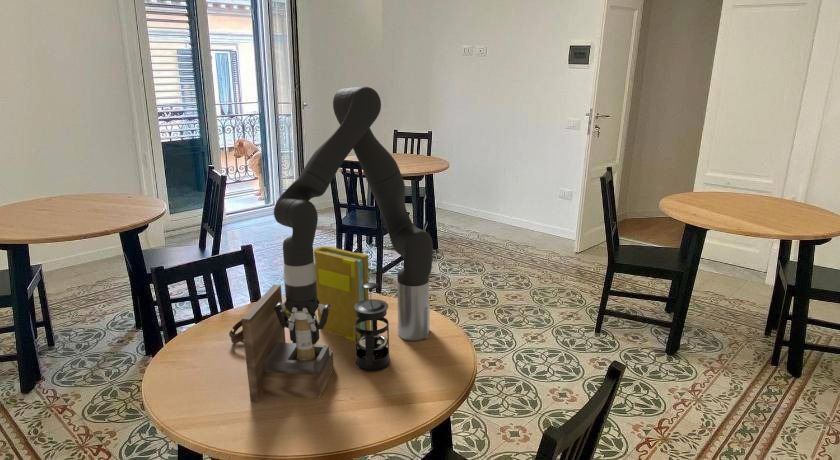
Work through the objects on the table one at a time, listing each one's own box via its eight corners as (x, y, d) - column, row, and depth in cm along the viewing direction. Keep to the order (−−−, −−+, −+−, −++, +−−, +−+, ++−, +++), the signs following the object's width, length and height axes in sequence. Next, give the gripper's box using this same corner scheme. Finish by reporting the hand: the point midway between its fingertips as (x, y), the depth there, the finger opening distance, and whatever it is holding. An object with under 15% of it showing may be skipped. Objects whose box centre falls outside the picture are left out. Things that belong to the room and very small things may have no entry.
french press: (358, 352, 152) (355, 276, 145) (391, 352, 151) (390, 276, 144) (352, 375, 140) (348, 294, 134) (387, 376, 140) (386, 294, 133)
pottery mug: (265, 351, 153) (247, 332, 149) (238, 361, 156) (220, 342, 152) (276, 323, 163) (260, 304, 160) (251, 333, 166) (235, 314, 162)
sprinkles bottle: (316, 352, 138) (313, 304, 134) (313, 362, 134) (309, 312, 130) (299, 352, 138) (295, 304, 134) (294, 362, 134) (290, 312, 130)
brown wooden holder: (336, 361, 147) (332, 287, 140) (315, 405, 128) (309, 322, 121) (279, 358, 148) (273, 284, 142) (250, 401, 129) (241, 318, 123)
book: (370, 332, 163) (368, 254, 155) (356, 342, 157) (353, 261, 150) (328, 319, 171) (324, 244, 164) (313, 327, 166) (308, 251, 158)
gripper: (333, 274, 132) (336, 336, 137) (277, 272, 134) (282, 333, 139) (324, 286, 125) (328, 351, 130) (265, 283, 127) (271, 348, 132)
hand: (304, 341), depth 135 cm, fingers closed on sprinkles bottle, 4 cm apart
